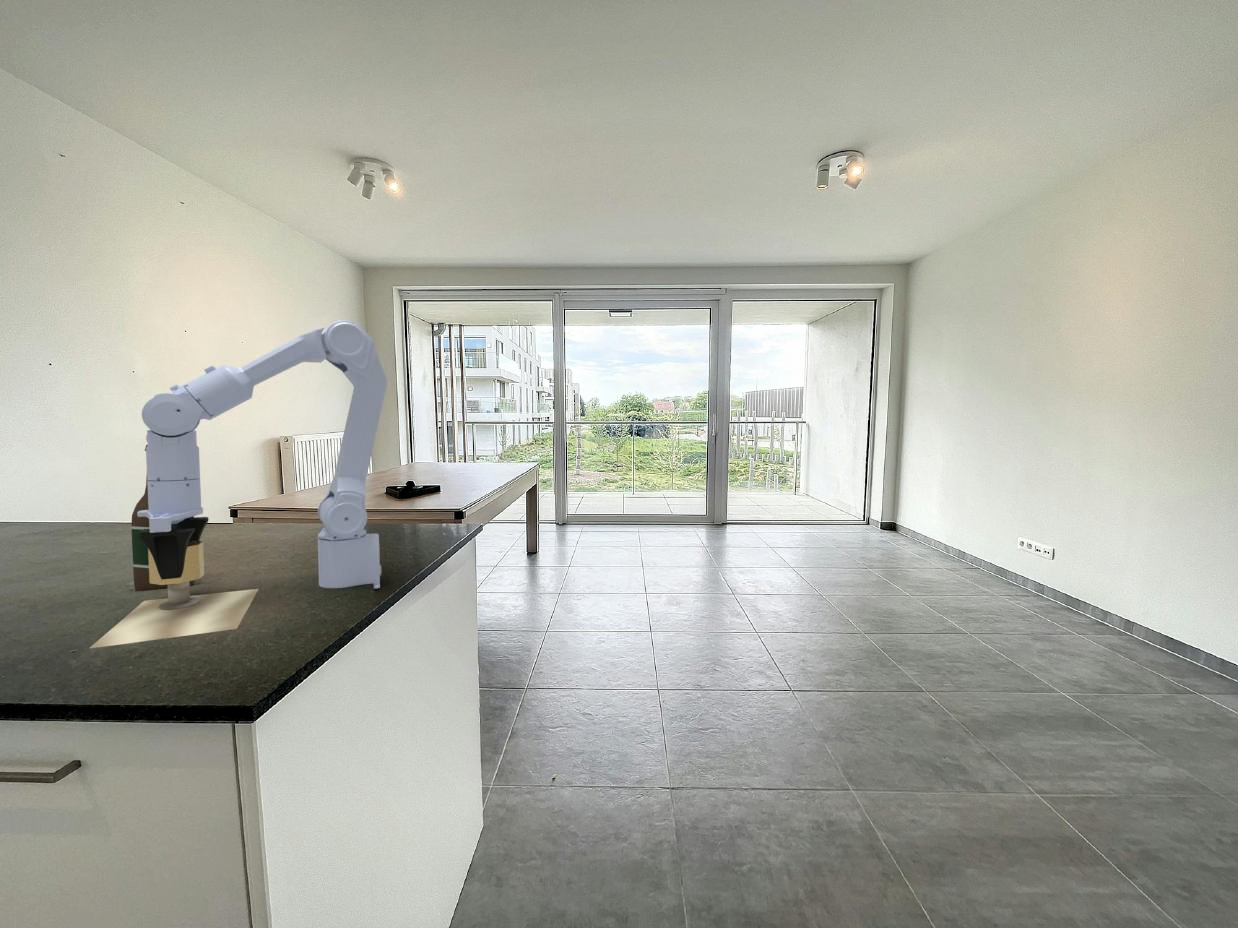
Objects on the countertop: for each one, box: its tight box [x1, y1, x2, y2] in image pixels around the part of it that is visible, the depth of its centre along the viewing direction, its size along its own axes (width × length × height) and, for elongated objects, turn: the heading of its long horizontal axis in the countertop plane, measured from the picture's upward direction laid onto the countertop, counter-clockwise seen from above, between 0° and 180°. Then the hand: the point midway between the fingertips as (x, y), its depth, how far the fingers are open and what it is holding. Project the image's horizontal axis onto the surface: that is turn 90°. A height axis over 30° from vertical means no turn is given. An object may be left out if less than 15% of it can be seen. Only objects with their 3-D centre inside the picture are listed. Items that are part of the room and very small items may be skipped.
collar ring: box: [148, 540, 205, 585], centre depth 74 cm, size 6×6×5 cm
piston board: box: [88, 581, 260, 650], centre depth 70 cm, size 14×18×6 cm
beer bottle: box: [130, 443, 195, 592], centre depth 83 cm, size 8×8×24 cm
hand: (178, 572), depth 74 cm, fingers closed on collar ring, 6 cm apart
